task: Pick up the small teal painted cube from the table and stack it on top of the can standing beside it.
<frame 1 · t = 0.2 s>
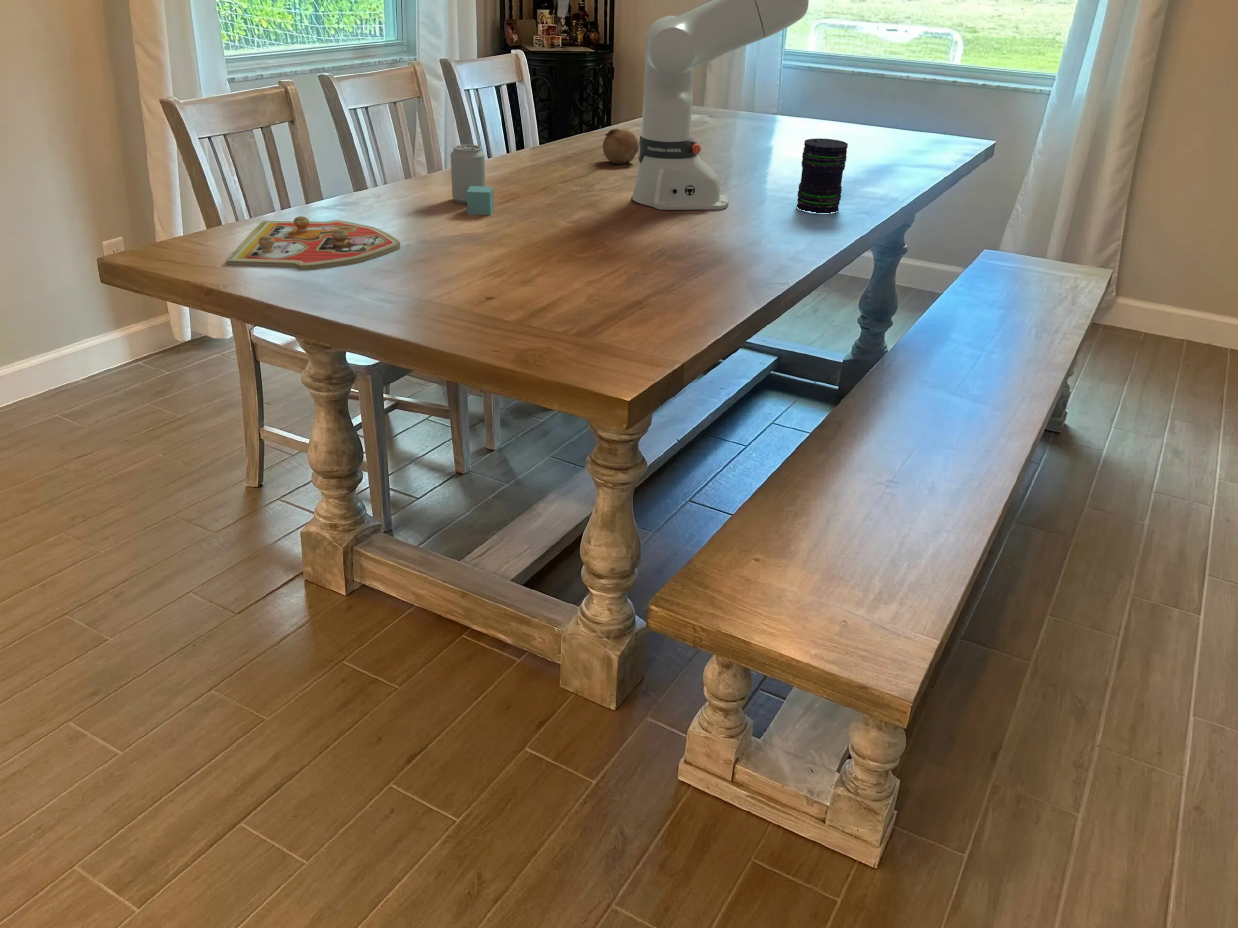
hand: (562, 14, 214), 39 cm above the table, tool pointing down, fingers open, 8 cm apart
teal block: (480, 212, 218), on the table
knob puzzle: (323, 250, 193), on the table
onion: (620, 163, 266), on the table
can: (469, 201, 226), on the table
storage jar: (817, 210, 231), on the table
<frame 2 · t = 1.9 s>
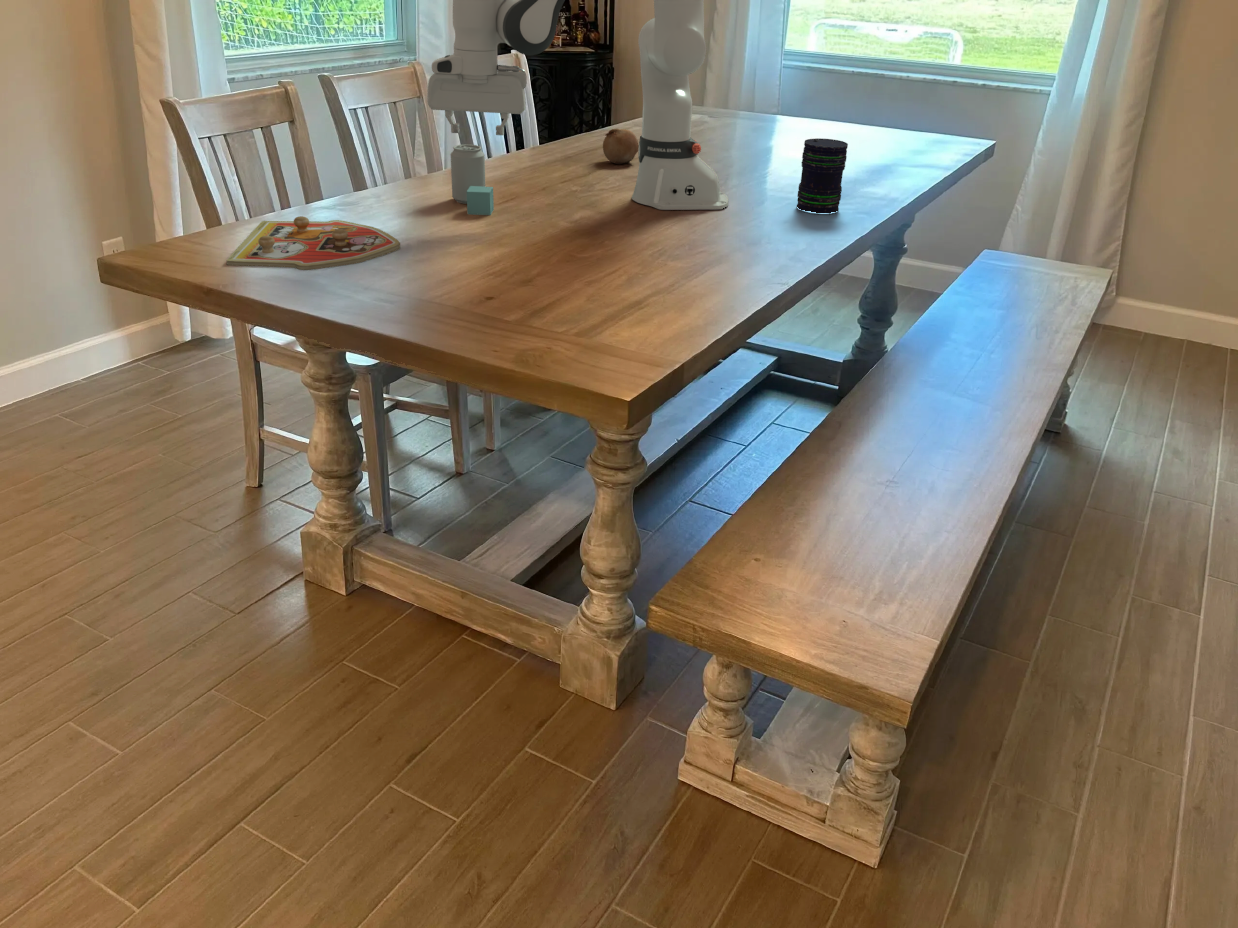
hand: (477, 133, 210), 16 cm above the table, tool pointing down, fingers open, 8 cm apart
nothing on the table moved.
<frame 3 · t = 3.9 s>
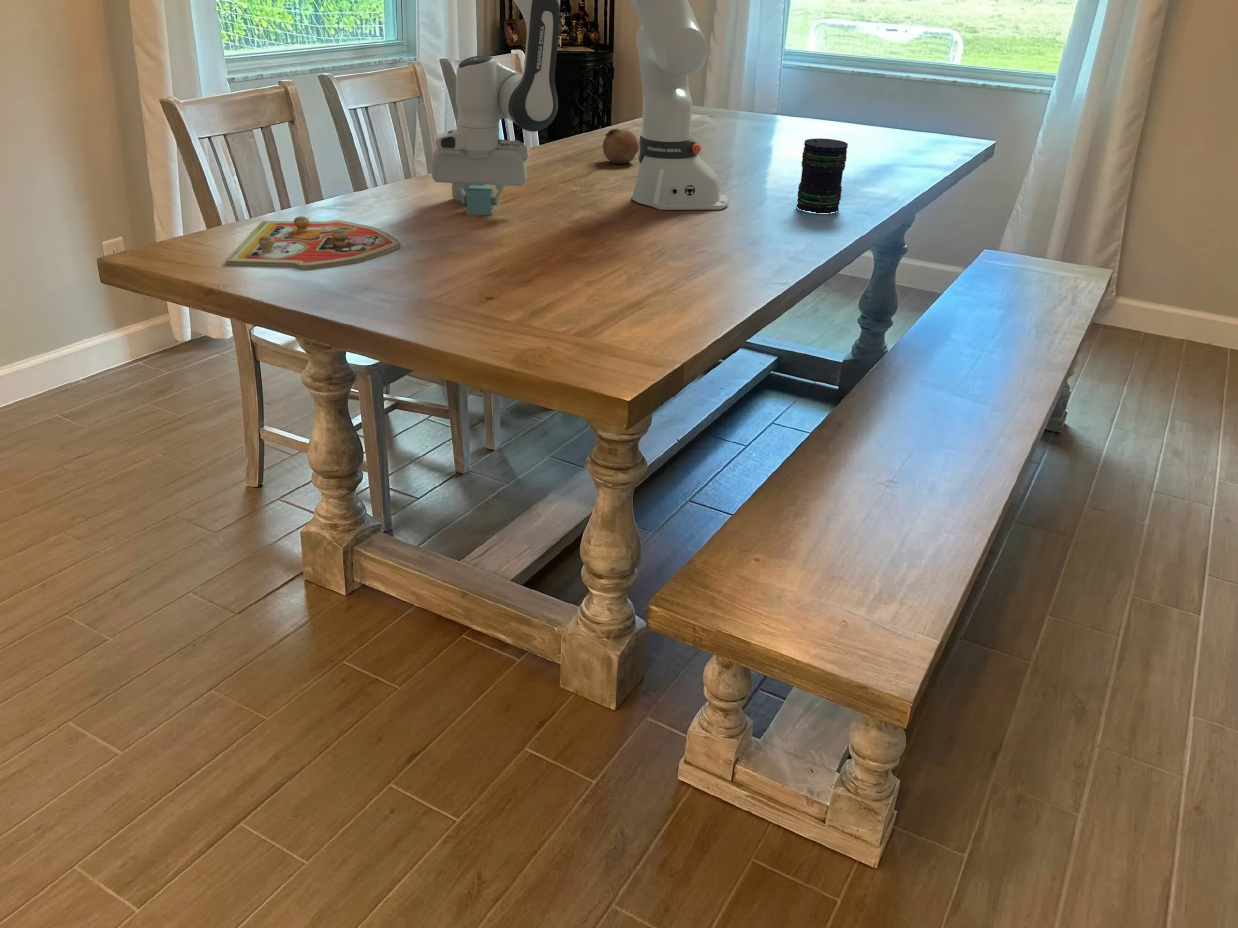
hand: (480, 204, 218), 2 cm above the table, tool pointing down, fingers closed on teal block, 5 cm apart
teal block: (480, 211, 218), on the table, touching gripper
everything else where it was.
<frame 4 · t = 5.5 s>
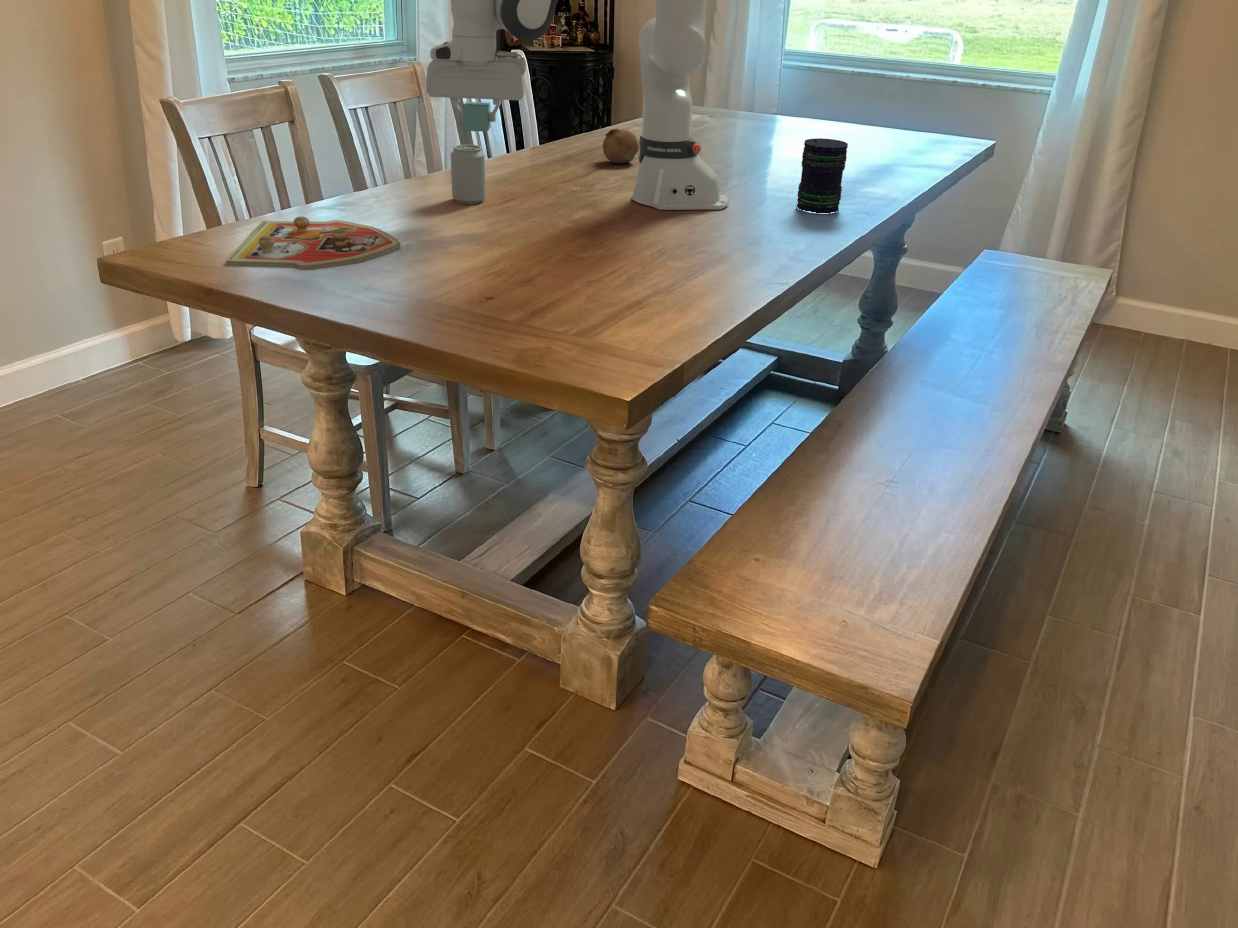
hand: (476, 120, 210), 19 cm above the table, tool pointing down, fingers closed on teal block, 5 cm apart
teal block: (477, 129, 211), point 17 cm above the table, touching gripper
everything else where it was.
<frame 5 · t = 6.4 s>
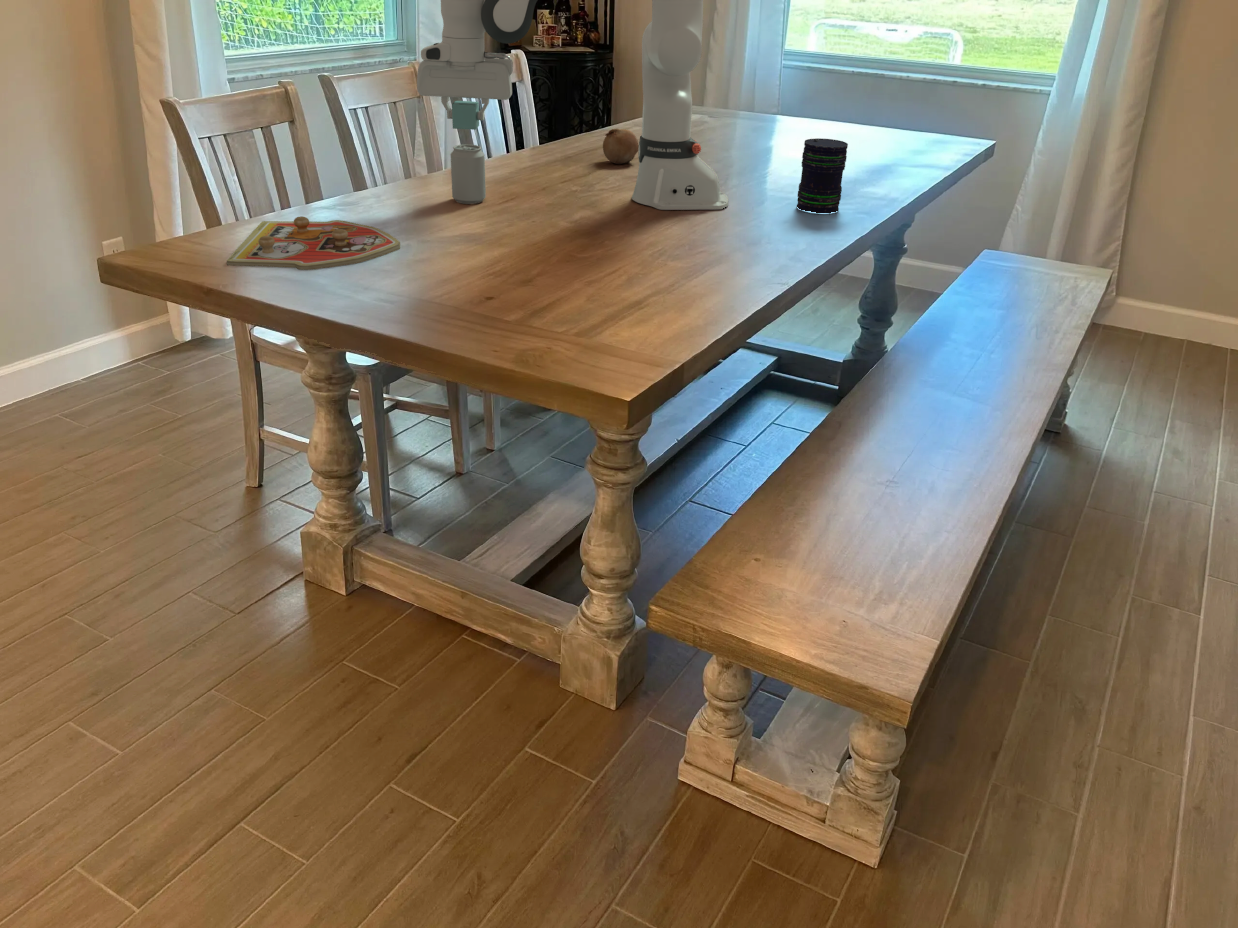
hand: (465, 119, 218), 18 cm above the table, tool pointing down, fingers closed on teal block, 5 cm apart
teal block: (466, 127, 218), point 16 cm above the table, touching gripper
everything else where it was.
when the fingers open (15 cm above the table, at t = 7.3 s): teal block stays where it is, resting on can.
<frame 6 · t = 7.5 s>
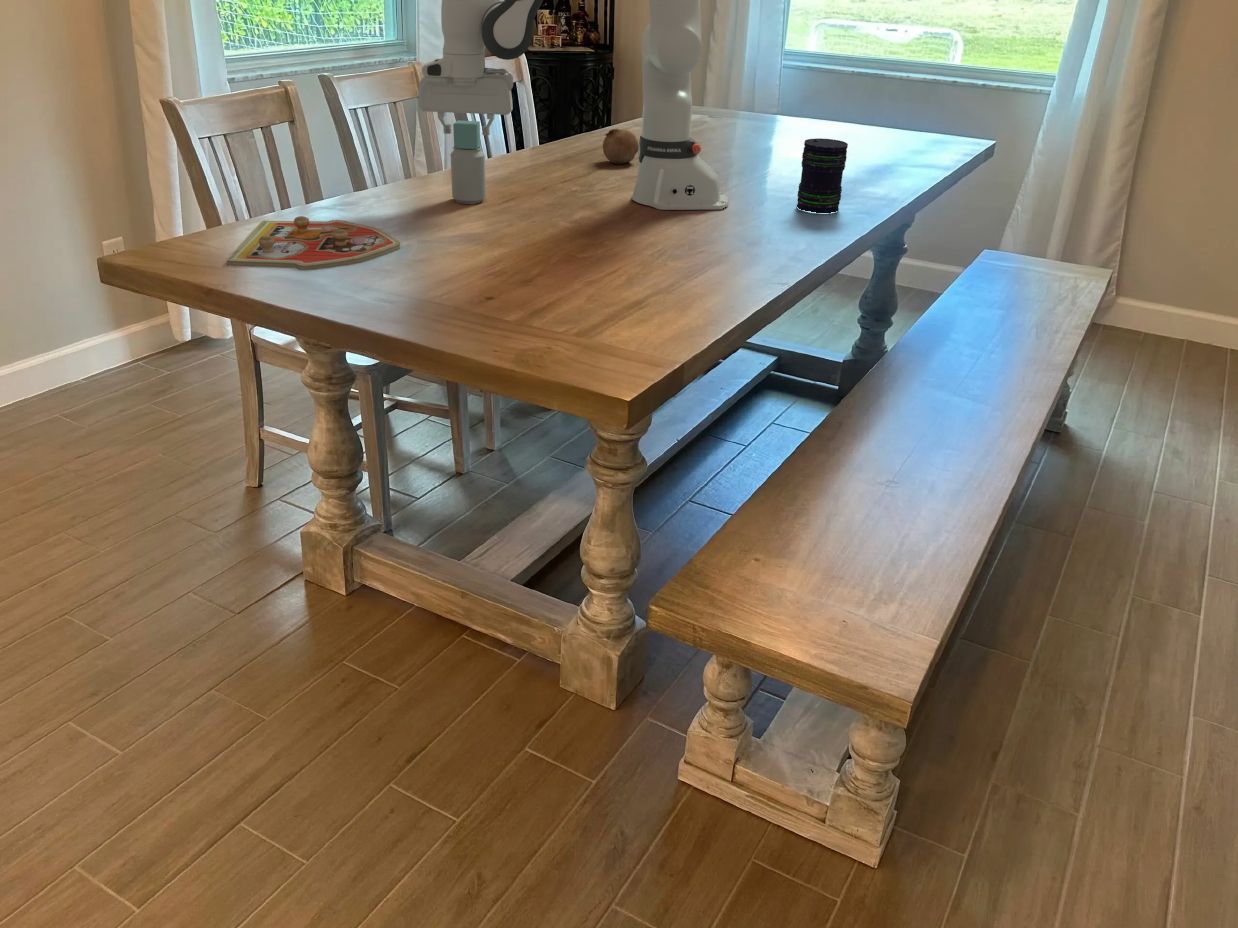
hand: (466, 134, 219), 15 cm above the table, tool pointing down, fingers open, 7 cm apart
teal block: (467, 146, 220), point 12 cm above the table, touching can
can: (469, 201, 226), on the table, touching teal block
everything else where it was.
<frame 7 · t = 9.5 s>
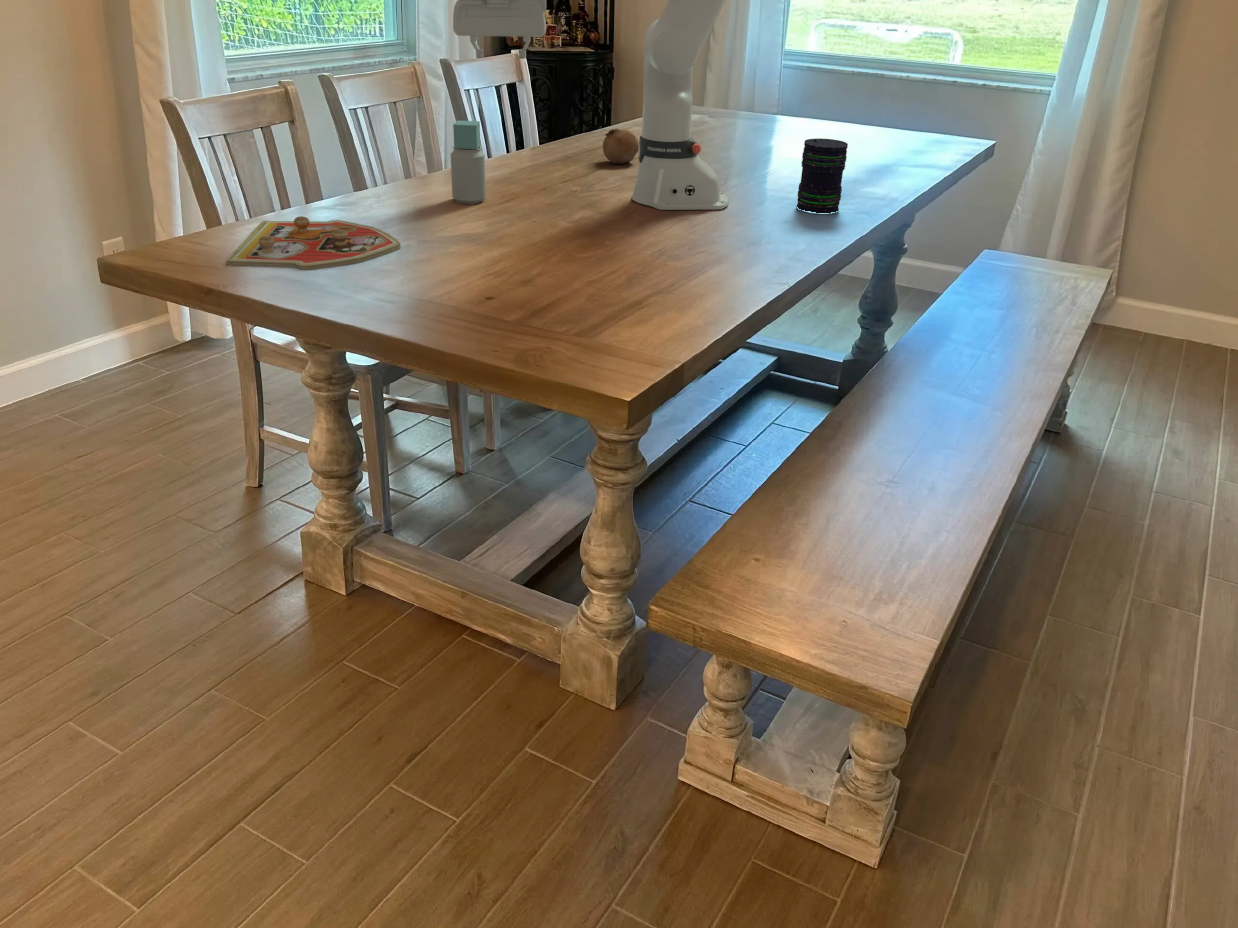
hand: (501, 58, 222), 29 cm above the table, tool pointing down, fingers open, 8 cm apart
nothing on the table moved.
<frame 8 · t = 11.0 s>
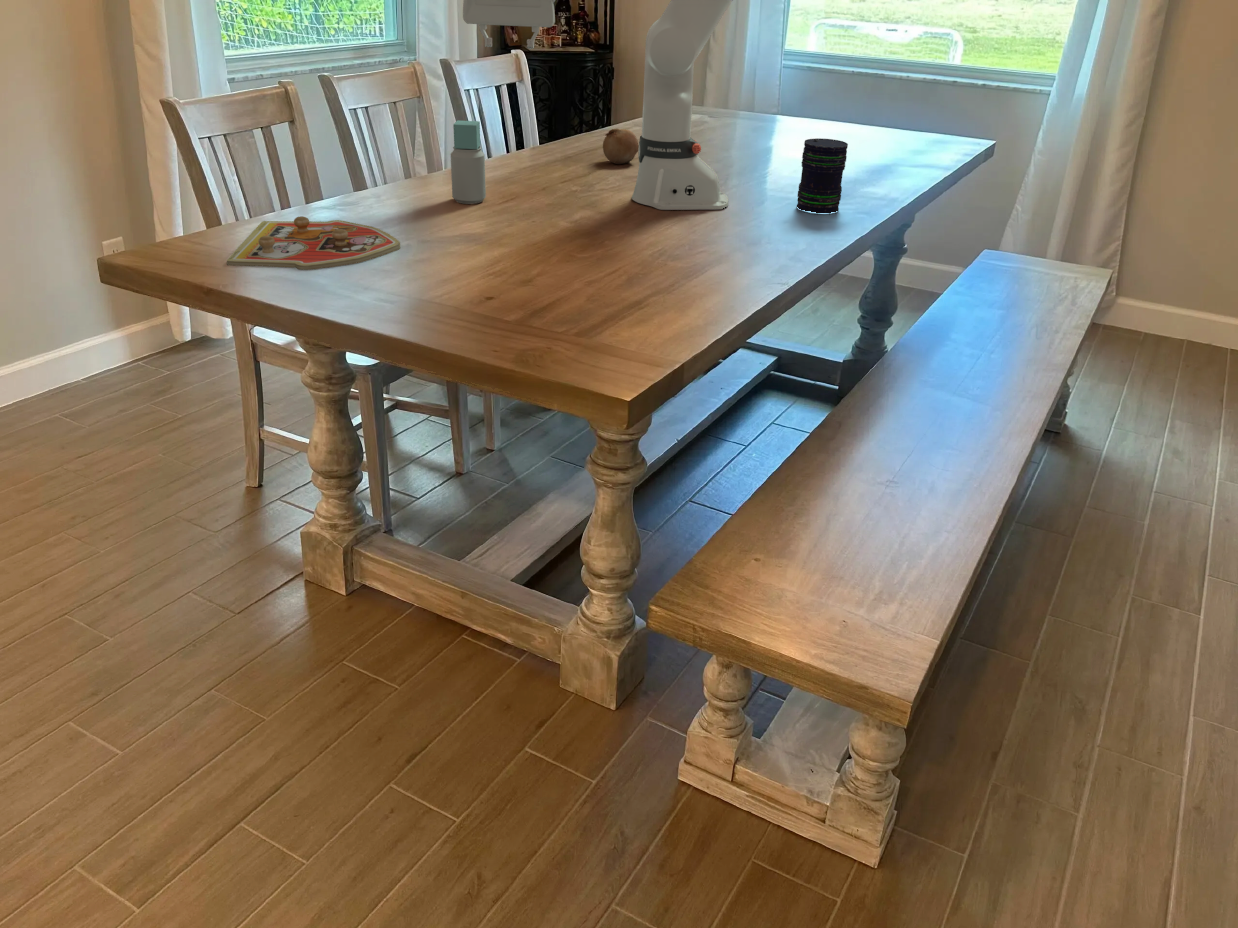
hand: (509, 47, 223), 31 cm above the table, tool pointing down, fingers open, 8 cm apart
nothing on the table moved.
at the end: teal block 0.1 cm off-centre on the can, point 12.2 cm above the can's base; can tilted 0°; the gripper is holding nothing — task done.
